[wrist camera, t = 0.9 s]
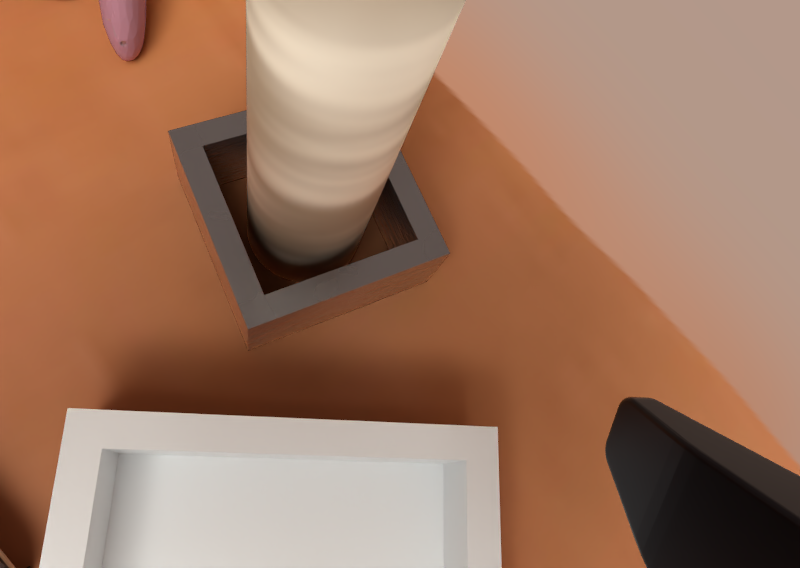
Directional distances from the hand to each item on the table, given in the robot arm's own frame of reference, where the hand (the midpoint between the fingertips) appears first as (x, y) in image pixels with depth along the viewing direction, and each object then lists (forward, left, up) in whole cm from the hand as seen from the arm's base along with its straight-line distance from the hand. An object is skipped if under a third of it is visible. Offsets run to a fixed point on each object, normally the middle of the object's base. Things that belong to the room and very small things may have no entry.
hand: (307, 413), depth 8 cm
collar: (+7, -4, -13) cm, 15 cm away
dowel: (+7, -4, -13) cm, 15 cm away
